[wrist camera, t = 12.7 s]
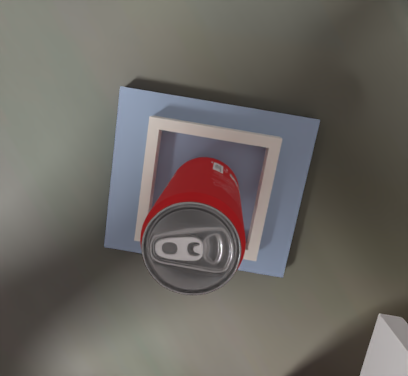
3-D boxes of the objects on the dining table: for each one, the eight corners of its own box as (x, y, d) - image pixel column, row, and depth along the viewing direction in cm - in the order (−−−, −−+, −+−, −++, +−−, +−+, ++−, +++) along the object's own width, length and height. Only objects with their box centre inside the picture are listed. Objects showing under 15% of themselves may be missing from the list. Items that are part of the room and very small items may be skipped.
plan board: (108, 241, 32) (97, 254, 29) (124, 86, 28) (114, 85, 26) (280, 271, 31) (285, 286, 29) (316, 118, 28) (325, 121, 26)
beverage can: (237, 219, 29) (244, 302, 18) (173, 218, 30) (137, 298, 18) (239, 155, 28) (248, 198, 16) (171, 154, 28) (133, 195, 17)
